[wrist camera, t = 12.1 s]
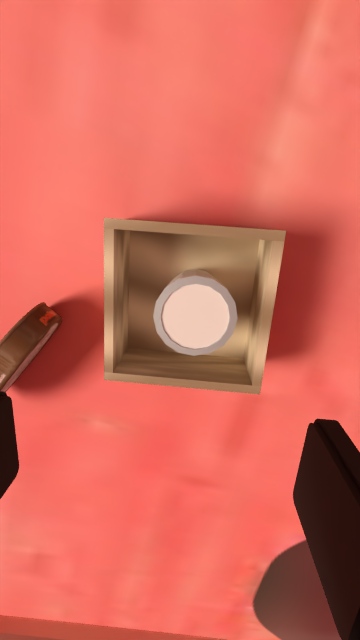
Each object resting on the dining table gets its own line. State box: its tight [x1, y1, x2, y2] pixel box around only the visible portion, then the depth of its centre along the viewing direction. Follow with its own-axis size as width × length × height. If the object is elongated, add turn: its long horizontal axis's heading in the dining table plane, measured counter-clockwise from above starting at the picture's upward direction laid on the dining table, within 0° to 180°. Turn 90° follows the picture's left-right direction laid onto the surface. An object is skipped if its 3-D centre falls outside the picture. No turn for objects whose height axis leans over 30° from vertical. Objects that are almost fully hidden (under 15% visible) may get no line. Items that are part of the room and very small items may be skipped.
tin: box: [0, 302, 62, 392], centre depth 32 cm, size 15×3×8 cm, turn 138°
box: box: [104, 218, 286, 394], centre depth 30 cm, size 14×14×7 cm
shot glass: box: [153, 269, 238, 356], centre depth 29 cm, size 7×7×7 cm
